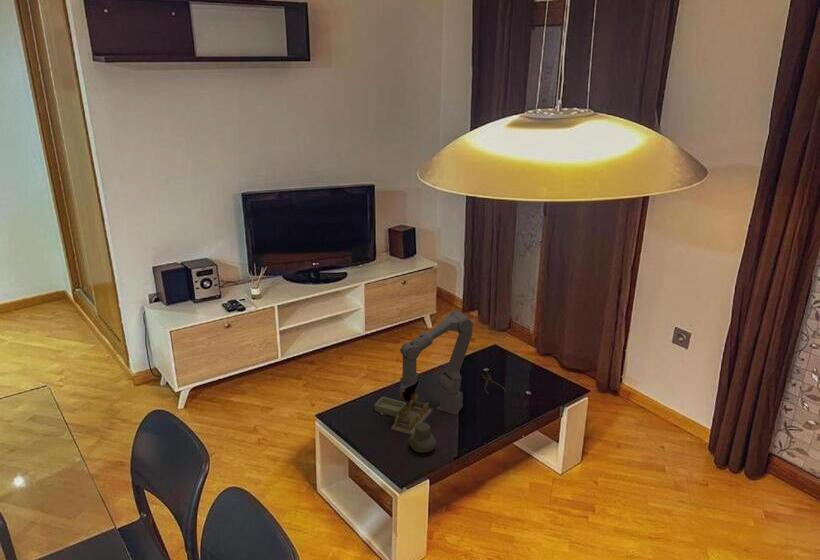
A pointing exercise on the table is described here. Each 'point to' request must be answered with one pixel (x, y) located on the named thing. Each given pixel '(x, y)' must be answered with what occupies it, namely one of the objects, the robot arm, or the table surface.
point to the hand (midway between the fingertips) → (409, 399)
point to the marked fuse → (413, 396)
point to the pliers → (491, 381)
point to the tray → (390, 406)
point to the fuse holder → (412, 413)
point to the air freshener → (422, 438)
